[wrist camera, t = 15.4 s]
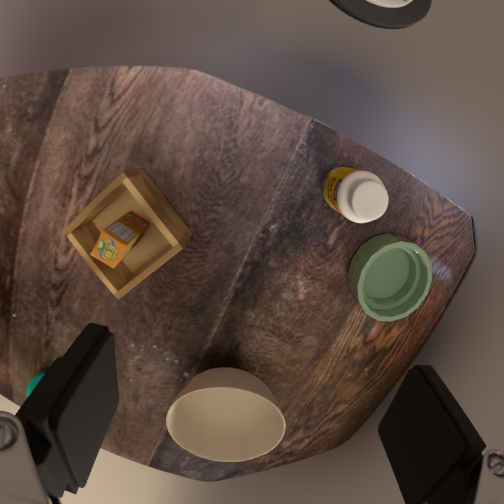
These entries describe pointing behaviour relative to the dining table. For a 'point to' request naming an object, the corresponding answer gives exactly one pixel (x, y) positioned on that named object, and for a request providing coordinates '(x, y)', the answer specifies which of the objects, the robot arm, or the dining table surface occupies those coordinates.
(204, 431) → the bowl
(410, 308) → the green bowl
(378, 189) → the supplement bottle
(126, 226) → the supplement box
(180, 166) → the dining table surface
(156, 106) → the dining table surface
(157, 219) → the wooden holder
